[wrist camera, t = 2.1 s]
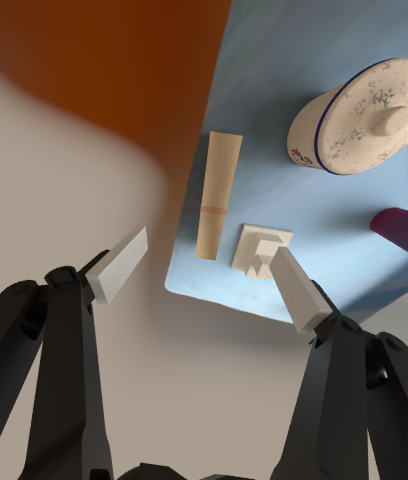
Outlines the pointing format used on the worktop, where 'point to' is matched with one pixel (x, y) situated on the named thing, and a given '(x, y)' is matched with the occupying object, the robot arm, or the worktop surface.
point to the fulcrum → (258, 249)
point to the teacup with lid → (354, 121)
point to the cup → (392, 226)
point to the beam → (216, 191)
